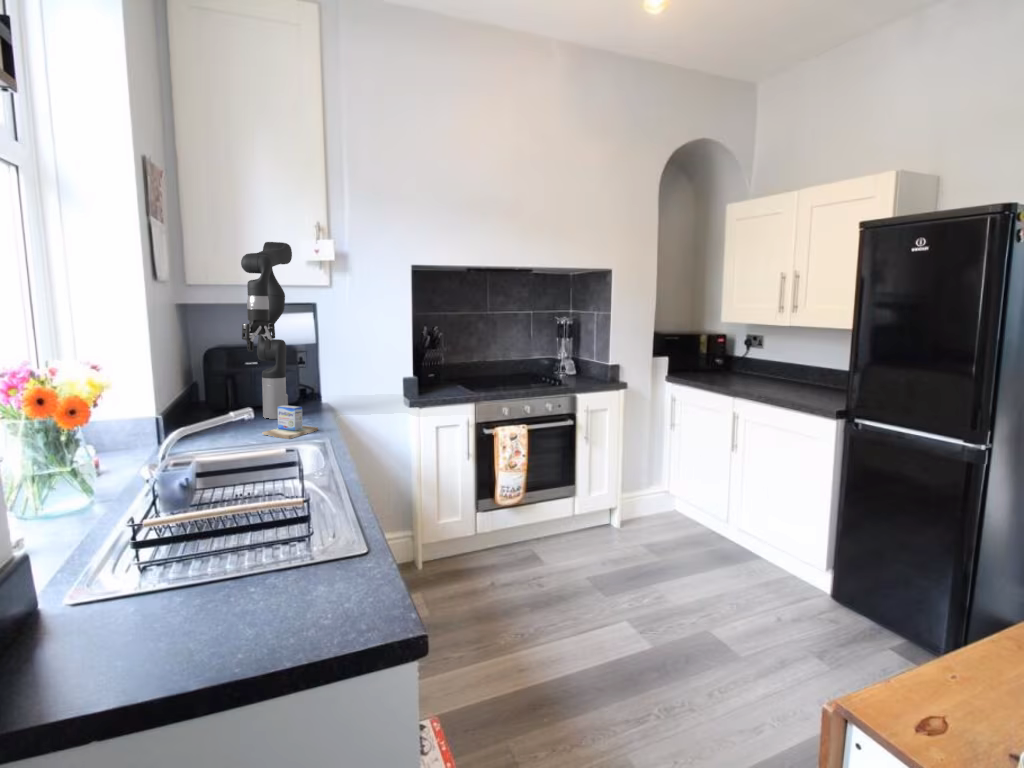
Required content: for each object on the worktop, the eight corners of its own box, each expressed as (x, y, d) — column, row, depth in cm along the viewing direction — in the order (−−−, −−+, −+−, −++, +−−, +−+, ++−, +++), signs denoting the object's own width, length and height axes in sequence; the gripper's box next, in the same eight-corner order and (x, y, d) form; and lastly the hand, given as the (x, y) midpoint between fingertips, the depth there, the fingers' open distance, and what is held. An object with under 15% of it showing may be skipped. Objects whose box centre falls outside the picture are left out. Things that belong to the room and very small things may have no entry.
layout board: (293, 427, 219) (293, 423, 219) (318, 430, 215) (318, 426, 215) (262, 435, 204) (262, 431, 204) (288, 439, 200) (288, 435, 200)
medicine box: (277, 429, 209) (276, 406, 207) (285, 426, 213) (285, 404, 212) (295, 431, 206) (294, 408, 205) (302, 428, 211) (302, 406, 209)
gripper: (264, 308, 218) (265, 349, 221) (235, 307, 205) (236, 351, 207) (279, 308, 216) (280, 350, 218) (251, 308, 203) (252, 352, 205)
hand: (259, 350), depth 213 cm, fingers open, 8 cm apart
